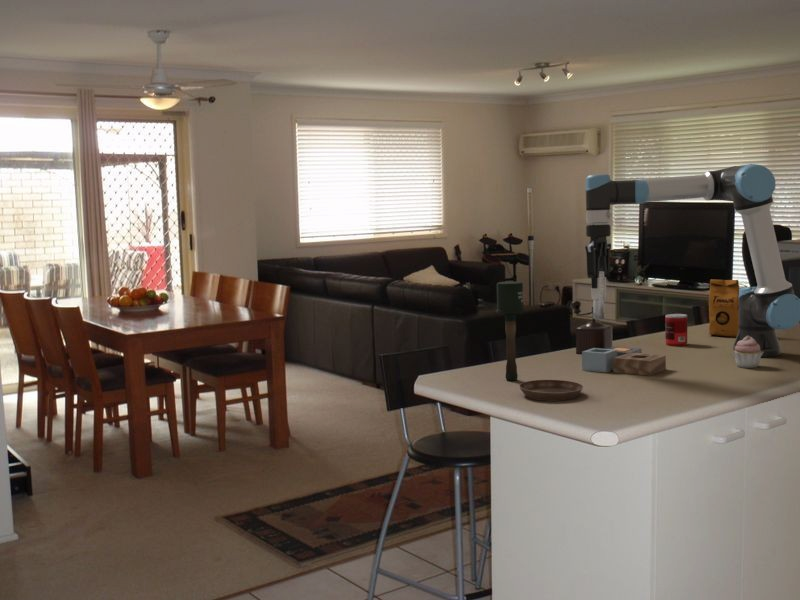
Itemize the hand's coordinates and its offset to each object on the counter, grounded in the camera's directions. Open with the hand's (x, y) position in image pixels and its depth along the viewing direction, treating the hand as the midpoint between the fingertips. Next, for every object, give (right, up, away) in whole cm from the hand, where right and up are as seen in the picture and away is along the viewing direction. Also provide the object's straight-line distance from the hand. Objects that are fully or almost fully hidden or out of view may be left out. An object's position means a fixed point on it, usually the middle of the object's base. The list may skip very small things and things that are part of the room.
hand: (598, 297), depth 284 cm
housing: (+10, -22, +12) cm, 27 cm away
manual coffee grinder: (+4, -20, +37) cm, 42 cm away
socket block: (+12, -23, -2) cm, 26 cm away
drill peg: (0, -7, +1) cm, 7 cm away
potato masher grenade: (-29, -25, -11) cm, 40 cm away
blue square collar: (+1, -23, +2) cm, 23 cm away
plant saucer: (-21, -28, -34) cm, 48 cm away
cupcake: (+47, -22, -1) cm, 52 cm away
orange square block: (+10, -21, +12) cm, 26 cm away
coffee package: (+63, -15, +63) cm, 91 cm away
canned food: (+39, -17, +46) cm, 63 cm away
